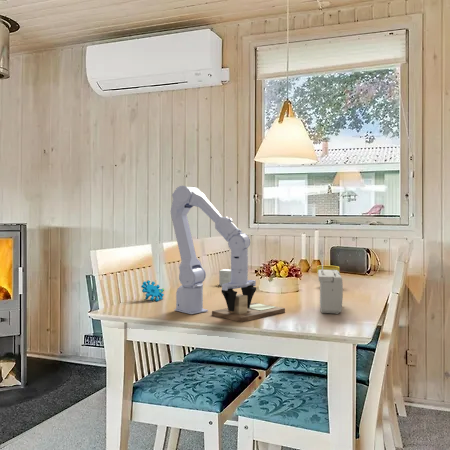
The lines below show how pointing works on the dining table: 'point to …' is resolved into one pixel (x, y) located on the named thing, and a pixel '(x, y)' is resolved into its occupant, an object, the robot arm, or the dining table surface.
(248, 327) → the dining table surface
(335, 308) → the stereo radio cassette player
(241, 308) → the maple block
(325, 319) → the dining table surface
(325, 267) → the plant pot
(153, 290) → the gear
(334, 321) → the dining table surface
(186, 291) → the robot arm
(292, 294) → the dining table surface
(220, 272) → the product box
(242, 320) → the pocket board
